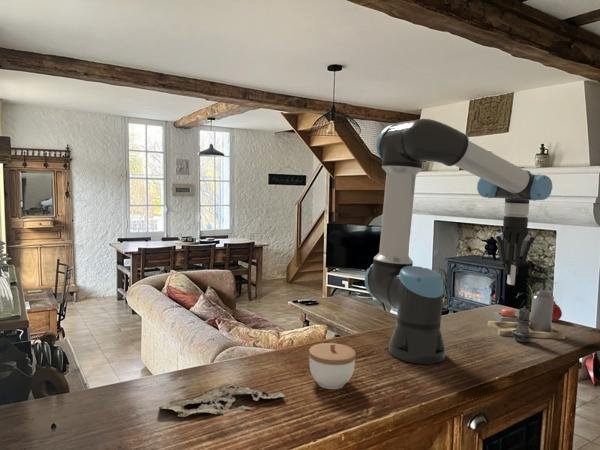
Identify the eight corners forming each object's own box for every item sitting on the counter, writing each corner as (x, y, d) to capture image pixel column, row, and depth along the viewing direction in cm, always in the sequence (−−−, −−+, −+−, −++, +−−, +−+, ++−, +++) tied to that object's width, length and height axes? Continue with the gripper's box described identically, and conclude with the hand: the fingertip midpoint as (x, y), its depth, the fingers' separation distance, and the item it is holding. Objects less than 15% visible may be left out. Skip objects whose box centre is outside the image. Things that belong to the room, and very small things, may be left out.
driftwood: (269, 372, 103) (273, 358, 100) (287, 412, 96) (292, 399, 93) (154, 404, 91) (155, 390, 88) (166, 454, 84) (167, 440, 81)
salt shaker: (536, 348, 133) (539, 308, 132) (516, 347, 133) (519, 307, 132) (526, 341, 139) (530, 303, 138) (507, 340, 139) (510, 302, 138)
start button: (503, 320, 155) (504, 311, 154) (498, 316, 159) (499, 308, 159) (516, 320, 154) (517, 312, 154) (511, 317, 159) (511, 308, 159)
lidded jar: (325, 398, 97) (327, 356, 96) (298, 379, 106) (300, 340, 105) (363, 388, 103) (366, 348, 102) (335, 370, 112) (337, 333, 111)
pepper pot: (534, 335, 142) (538, 292, 141) (526, 329, 148) (529, 287, 147) (554, 336, 142) (558, 293, 141) (544, 330, 148) (548, 288, 147)
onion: (539, 322, 160) (541, 300, 160) (545, 319, 164) (547, 297, 163) (557, 326, 156) (559, 303, 155) (563, 323, 160) (565, 301, 159)
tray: (498, 338, 141) (499, 330, 141) (487, 328, 151) (487, 320, 151) (564, 341, 140) (565, 333, 140) (548, 331, 150) (549, 324, 150)
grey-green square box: (500, 326, 154) (501, 317, 153) (493, 320, 161) (493, 311, 160) (521, 327, 153) (522, 318, 153) (513, 321, 160) (513, 312, 160)
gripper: (530, 215, 157) (525, 282, 159) (492, 214, 158) (487, 280, 160) (540, 217, 149) (535, 287, 152) (500, 215, 150) (495, 285, 152)
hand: (510, 283), depth 156 cm, fingers closed
